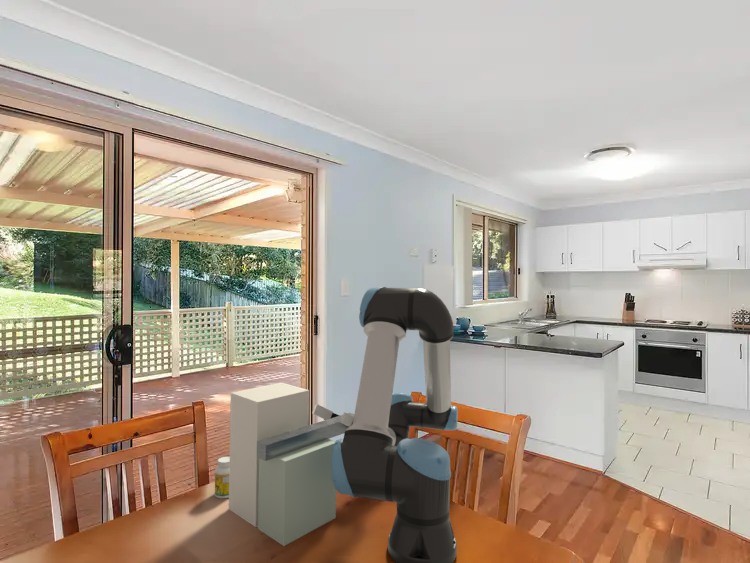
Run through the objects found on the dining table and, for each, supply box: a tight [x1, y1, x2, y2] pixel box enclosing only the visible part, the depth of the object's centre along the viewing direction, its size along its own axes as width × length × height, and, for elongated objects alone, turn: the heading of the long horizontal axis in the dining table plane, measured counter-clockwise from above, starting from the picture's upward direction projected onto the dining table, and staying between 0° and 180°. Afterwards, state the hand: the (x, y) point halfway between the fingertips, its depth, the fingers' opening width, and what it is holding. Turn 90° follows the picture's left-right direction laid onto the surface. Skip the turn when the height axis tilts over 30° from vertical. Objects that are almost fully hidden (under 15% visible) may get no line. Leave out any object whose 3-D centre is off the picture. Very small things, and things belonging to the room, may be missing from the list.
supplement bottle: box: [214, 456, 230, 500], centre depth 121 cm, size 5×5×10 cm
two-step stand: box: [228, 382, 337, 547], centre depth 112 cm, size 16×23×30 cm
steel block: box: [257, 412, 355, 461], centre depth 111 cm, size 30×4×4 cm, turn 139°
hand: (328, 413), depth 116 cm, fingers open, 10 cm apart
